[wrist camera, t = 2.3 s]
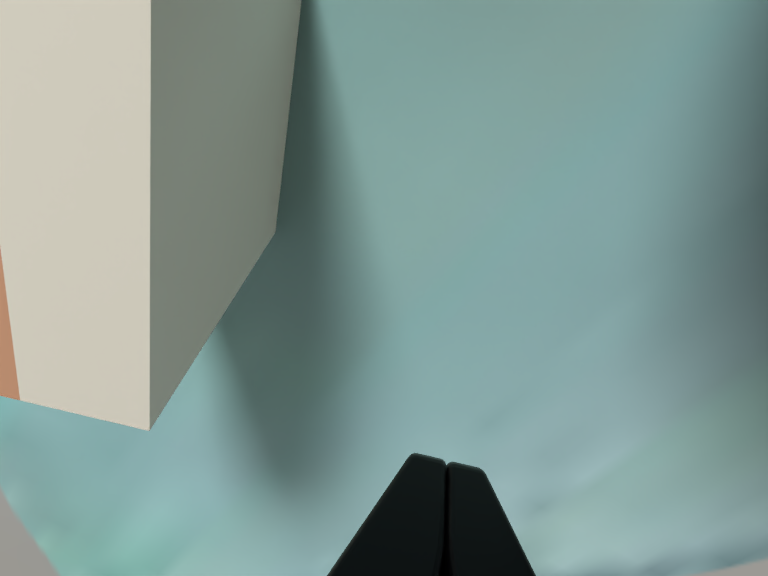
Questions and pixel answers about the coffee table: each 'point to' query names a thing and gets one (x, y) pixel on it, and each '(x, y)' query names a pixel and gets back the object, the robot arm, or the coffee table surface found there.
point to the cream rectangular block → (132, 188)
